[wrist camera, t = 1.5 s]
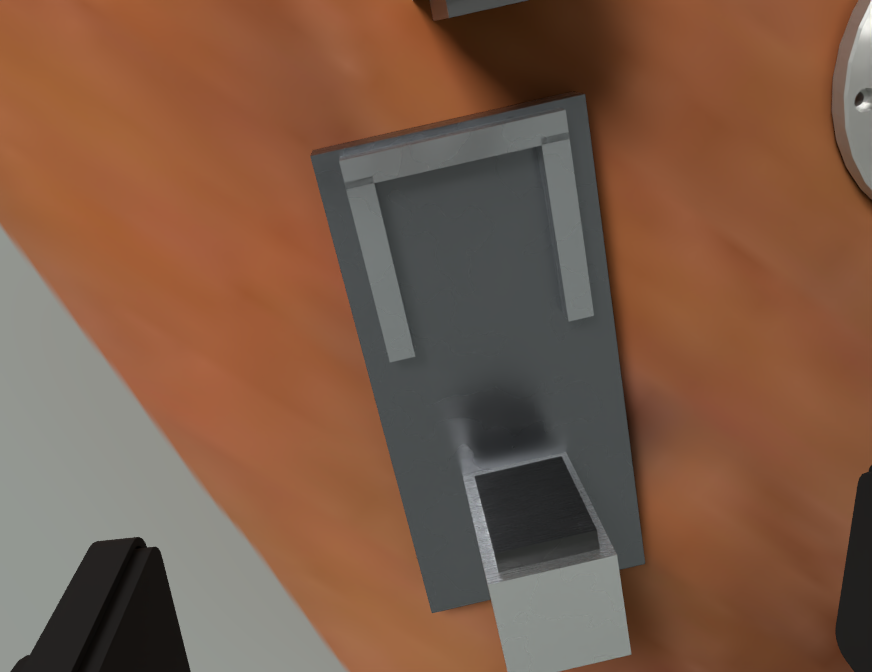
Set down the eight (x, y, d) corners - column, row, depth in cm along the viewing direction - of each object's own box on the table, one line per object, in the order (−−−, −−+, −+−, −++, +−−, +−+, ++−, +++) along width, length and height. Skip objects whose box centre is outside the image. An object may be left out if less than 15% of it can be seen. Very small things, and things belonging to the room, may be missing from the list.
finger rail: (574, 91, 29) (654, 112, 21) (634, 543, 37) (709, 683, 29) (313, 150, 29) (294, 193, 21) (429, 591, 37) (448, 744, 29)
